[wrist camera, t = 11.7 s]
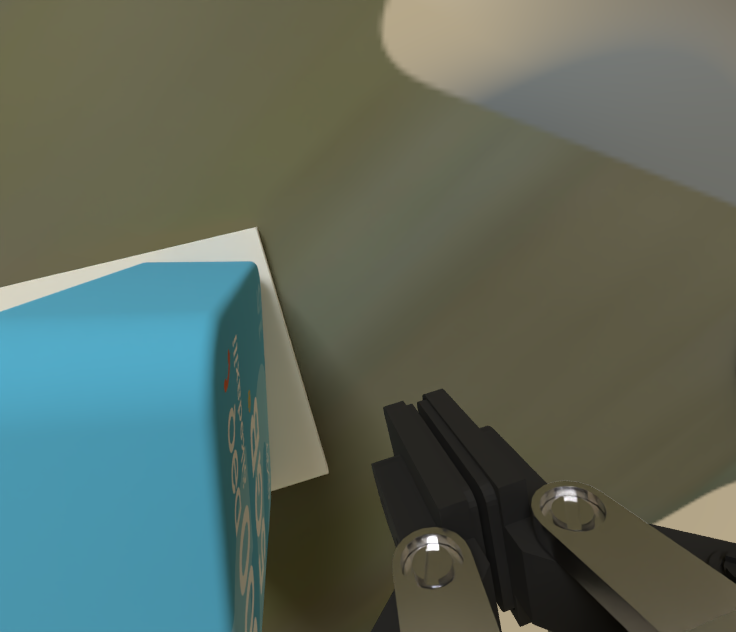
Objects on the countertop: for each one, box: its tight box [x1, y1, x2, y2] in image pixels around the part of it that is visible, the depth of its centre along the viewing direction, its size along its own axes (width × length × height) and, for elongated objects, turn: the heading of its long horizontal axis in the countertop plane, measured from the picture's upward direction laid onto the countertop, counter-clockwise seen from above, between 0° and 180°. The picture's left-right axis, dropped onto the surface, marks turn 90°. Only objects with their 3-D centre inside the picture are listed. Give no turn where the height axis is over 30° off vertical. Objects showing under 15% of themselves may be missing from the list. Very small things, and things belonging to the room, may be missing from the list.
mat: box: [0, 227, 329, 491], centre depth 19 cm, size 18×13×1 cm
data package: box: [0, 261, 271, 632], centre depth 14 cm, size 12×4×12 cm, turn 1°
